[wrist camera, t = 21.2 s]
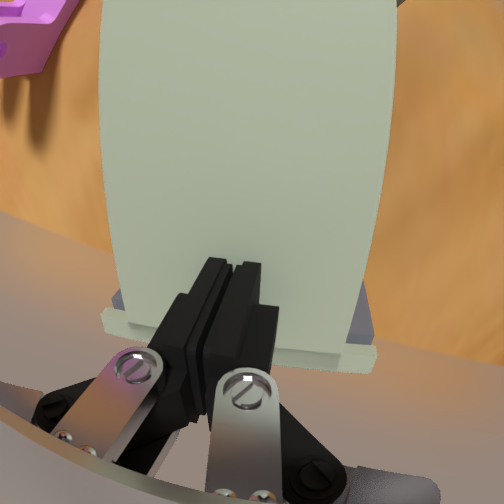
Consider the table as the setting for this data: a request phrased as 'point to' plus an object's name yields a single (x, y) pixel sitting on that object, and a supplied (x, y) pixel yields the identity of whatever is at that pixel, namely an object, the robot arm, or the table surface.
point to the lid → (247, 157)
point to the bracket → (30, 33)
